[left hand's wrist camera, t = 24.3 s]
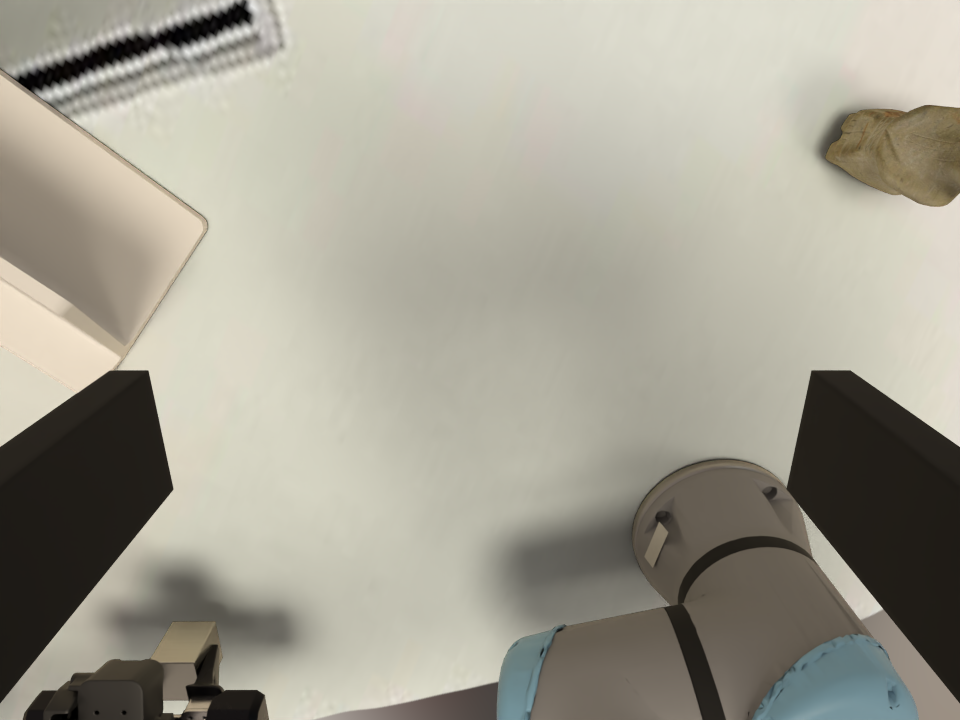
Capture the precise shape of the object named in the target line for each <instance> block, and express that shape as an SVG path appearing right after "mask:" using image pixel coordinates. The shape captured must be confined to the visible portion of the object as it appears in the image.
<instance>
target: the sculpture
mask: <svg viewBox="0 0 960 720" xmlns="http://www.w3.org/2000/svg"><path fill="white" fill-rule="evenodd" d="M841 130H842V131H843V133H842V136H841V138H840V139H839V140H838V141H836V142H834V143H832V144H831V145H830V147H829V149H828V151H827V154H826V157H825V158H826V159H827V160H828V161H830V162H831V163H833V164H836V165H838V166H839V167H841V168H842V169H844V170H845V171H846V172H848V173H849V174H850V175H851V176H853V177H855V178H856V179H858V180H860V181H862V182H864V183H866V184H868V185H869V186H872V187H874V188H876V189H878V190H881V191H883V192H886V193H888V194H891V195H901V194H902V195H904V196H906V197H908V198H910V199H911V200H913V201H915V202H917V203H919V204H922V205H927V206H934V207H940V206H945V205H947V204H949V203H950V202H951V201H952V200H953V199H954V198H955V197H956V196H957V195H958V194H959V193H960V108H954V107H943V106H934V105H924V106H921V107H919V108H916V109H913V110H911V111H909V112H903V111H899V110H892V109H868V110H861V111H859V112H857V113H853V114H850V115H849V116H848V117H847V119H846V120H845V122H844V123H843V125H842V127H841Z"/></svg>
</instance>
